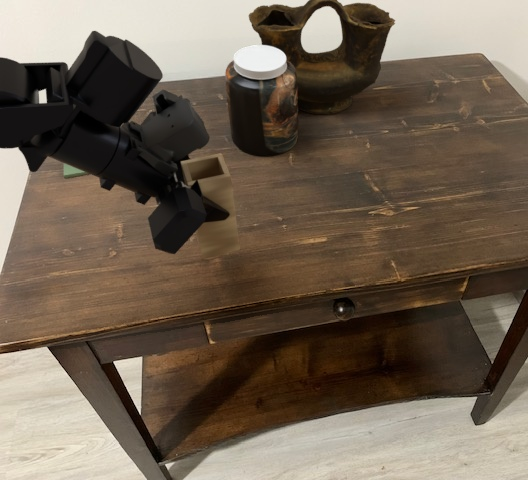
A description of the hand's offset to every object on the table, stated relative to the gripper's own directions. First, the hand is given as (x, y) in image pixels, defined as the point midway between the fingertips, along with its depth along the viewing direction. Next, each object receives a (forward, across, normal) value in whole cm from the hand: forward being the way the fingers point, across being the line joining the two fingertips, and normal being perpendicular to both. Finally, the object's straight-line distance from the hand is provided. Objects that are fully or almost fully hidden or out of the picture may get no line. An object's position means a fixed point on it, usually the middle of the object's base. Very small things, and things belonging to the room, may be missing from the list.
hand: (222, 203), depth 65 cm
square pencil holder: (+4, 0, +6) cm, 7 cm away
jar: (+18, +27, -1) cm, 33 cm away
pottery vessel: (+27, +34, -10) cm, 45 cm away
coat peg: (-4, +29, +21) cm, 36 cm away
